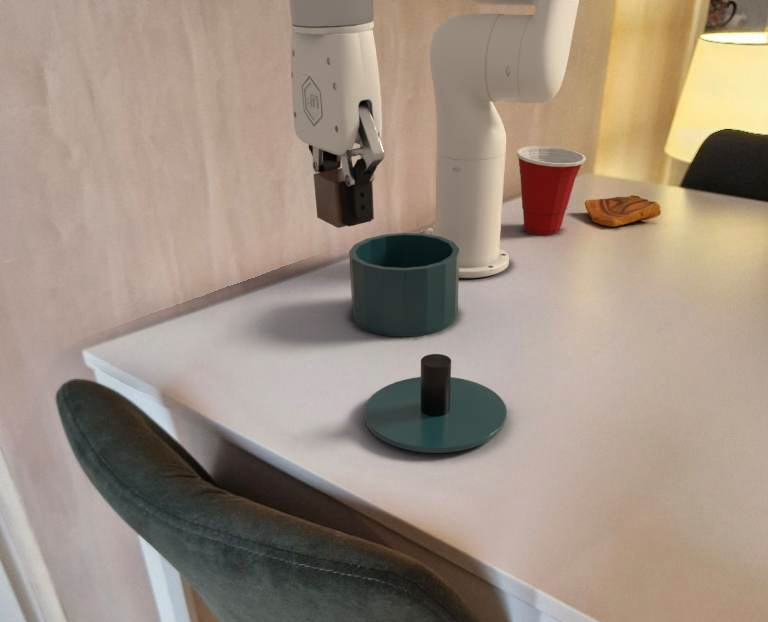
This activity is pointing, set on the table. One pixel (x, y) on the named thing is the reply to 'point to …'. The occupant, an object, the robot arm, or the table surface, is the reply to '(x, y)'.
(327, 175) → the block
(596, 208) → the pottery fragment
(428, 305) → the pot
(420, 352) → the table surface
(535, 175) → the plastic cup
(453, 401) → the lid
